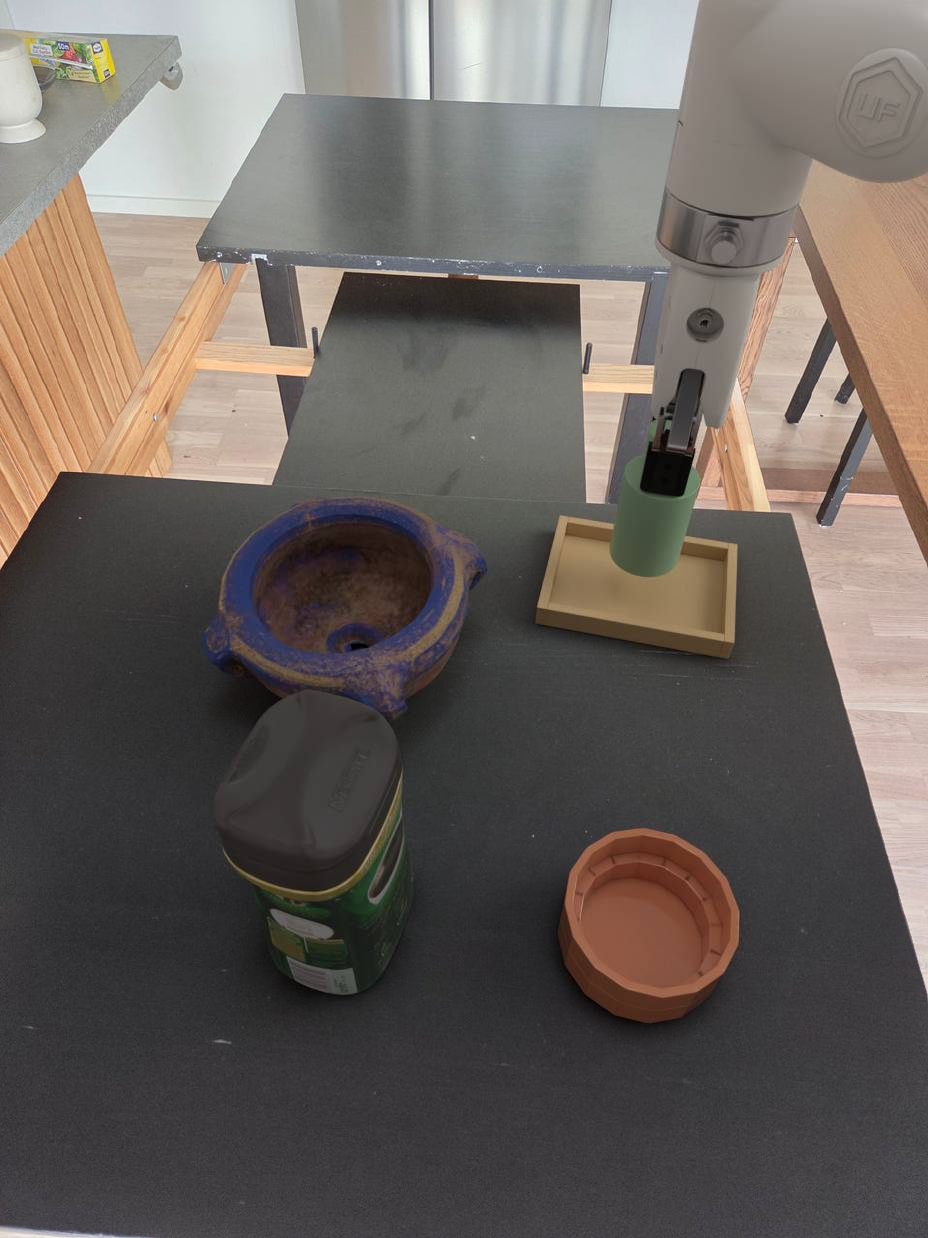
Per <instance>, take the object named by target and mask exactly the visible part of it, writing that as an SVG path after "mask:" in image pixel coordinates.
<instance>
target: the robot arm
mask: <svg viewBox="0 0 928 1238" xmlns="http://www.w3.org/2000/svg"><path fill="white" fill-rule="evenodd" d="M669 155H670V156H669V161H668V167H667V172H666V176H665V182H664V183H665V184H664V188H663V194H662V199H661V204H660V209H659V215H658V220H657V226H656V230H655V237H654V246H655V248H656V250H657V251H658V253H659V254H660V255H661V256H662V258H664V259H666V260H667V261H669V262H670V265H669V270H668V276H667V280H666V281H667V282H666V285H665V290H664V291H665V292H664V297H663V302H662V308H661V312H660V313H661V314H660V319H659V320H660V321H659V326H658V333H657V342H656V349H655V357H654V365H653V366H654V368H653V378H652V390H651V402H650V414H651V417H652V418H651V422H650V424H651V423H652V422H653V421H654V420H656V419H657V420H658V421H657V426H656V431H655V435H654V440H653V442H652V441H649V445H648V449H647V454H646V459H645V463H644V468H643V472H642V477H641V482H640V489H641V490H642V491H645V492H651V493H658V494H664V495H670V496H676V497H681V496H683V495H684V493H685V489H686V486H687V482H688V478H689V474H690V471H691V467H692V466H693V464H694V459H695V455H696V453H697V452H696V451H697V450H696V447H695V446H696V443H697V439H698V435H699V431H700V427H701V423H702V420H703V419H704V424H705V427H707V428H708V427H709V428H713V429H714V430H719V429H721V428H722V427H723V426H724V425H725V424H726V422H727V417H728V414H729V410H730V406H731V402H732V399H733V398H732V396H733V394H734V389H735V386H736V381H737V378H738V373H739V371H740V367H741V362H742V360H743V359H742V358H743V355H744V351H745V347H746V343H747V339H748V335H749V332H750V327H751V323H752V319H753V315H754V310H755V306H756V302H757V297H758V292H759V288H760V282H761V277H762V274H765V273H767V272H770V271H772V270H774V269H775V268H777V267H778V266H779V265H780V264H781V263H782V260H783V259H784V255H785V253H786V248H787V246H788V242H789V239H790V235H791V231H792V229H793V225H794V222H795V219H796V217H797V216H796V215H797V212H798V208H799V205H800V202H801V199H802V197H803V192H804V190H805V187H806V183H807V180H808V177H809V173H810V171H811V166H812V163H813V161H816V162H819V163H821V164H822V165H824V166H826V167H828V168H830V169H832V170H835V171H837V172H839V173H841V174H842V175H846V176H847V177H851V178H854V179H857V180H861V181H863V182H868V183H874V184H875V183H876V184H897V183H903V182H907V181H911V180H914V179H917V178H919V177H922V176H924V175H927V174H928V0H698V5H697V9H696V15H695V19H694V24H693V30H692V35H691V42H690V46H689V51H688V57H687V63H686V67H685V74H684V79H683V85H682V90H681V96H680V100H679V105H678V112H677V116H676V122H675V128H674V133H673V139H672V145H671V149H670V154H669ZM666 420H670V421H672V423H671V428H670V429H665V431H664V428H665V424H666Z"/></svg>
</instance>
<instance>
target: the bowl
mask: <svg viewBox="0 0 928 1238" xmlns="http://www.w3.org/2000/svg"><path fill="white" fill-rule="evenodd" d="M487 572H488V565H487V562H486V559H485V557H484V555H483V554H482V552H481V550H480V548H479V546H478V545H477V543H476V541H475V539H473V538H472V537H470V536H469V535H468V534H465V533H462V532H459V531H456V530H454V529H451V528H449V527H446V526H444V525H441V524H440V523H438V522H437V521H436V520H434V519H432V518H431V517H429V516H427V515H426V514H425V513H423V512H421V511H420V510H419V509H416V508H413V507H411V506H408V505H406V504H404V503H403V504H402V503H400V502H397V501H394V500H392V499H385V498H378V497H369V496H348V497H347V496H346V497H345V496H344V497H317V498H312V499H306V500H304V501H302V502H298V503H294V504H293V505H292V506H291V507H290V508H288V509H286V510H285V511H283V512H281V513H279V514H278V515H276V516H274V517H273V518H272V519H271V520H269V521H268V522H266V523H264V525H262V526H260V527H259V528H258V529H256V530H255V531H252V533H251V534H250V535H249V536H248V537H247V538H246V539H245V541H244V542H242V544H240V546H239V548H238V549H237V550H236V551H235V552H234V553H233V555H232V556H231V559H230V561H229V564H228V565H227V567H226V569H225V571H224V573H223V575H222V578H221V585H220V591H219V595H218V596H219V597H218V602H217V603H218V604H217V612H216V615H215V616H214V618H213V620H212V621H211V623H210V624H209V626H207V628H206V630H205V631H204V633H203V634H202V639H201V647H202V649H203V652H204V654H205V657H206V658H207V659H208V660H209V662H210V663H211V664H212V665H214V666H215V667H216V668H217V669H218V670H219V671H221V672H223V673H225V674H227V675H229V676H231V677H234V678H235V679H242V680H243V679H245V680H251V681H255V682H260V683H261V684H262V685H263V687H265V688H266V689H267V690H268V691H270V692H272V693H273V694H274V695H276V696H277V697H279V698H281V700H282V699H284V698H285V697H287V696H290V695H292V694H295V693H298V692H301V691H302V690H305V689H309V690H316V691H320V692H325V693H330V694H334V695H338V696H342V697H345V698H349V699H352V700H354V701H357V702H360V703H363V704H365V705H368V706H370V707H372V708H374V709H375V710H376V711H378V712H379V713H380V714H381V715H382V716H383V717H384V718H385V719H386V721H387V722H388V723H389V722H393V721H395V720H397V719H399V718H400V717H403V716H404V715H405V714H406V712H407V710H408V706H407V703H406V699H408V698H410V697H411V696H414V694H416V693H417V692H419V691H420V690H422V689H423V688H425V687H426V686H428V685H429V684H430V683H431V682H432V681H433V680H434V679H435V678H436V677H437V676H438V675H440V673H441V672H442V670H443V669H444V667H445V665H447V663H448V662H449V659H450V658H451V656H452V654H453V652H454V650H455V648H456V646H457V643H458V640H459V637H460V633H461V631H462V628H463V626H464V623H465V621H466V618H467V615H468V611H469V595H470V594H469V593H470V592H471V591H472V590H473V589H474V588H475V587H476V586H477V584H478V583H479V582H480V581H481V580H482V578H484V576H485V575H486V573H487ZM355 644H358V645H359V644H364V645H365V646H367V647H366V648H362V649H355V650H352V647H351V645H355Z"/></svg>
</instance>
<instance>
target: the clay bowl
mask: <svg viewBox="0 0 928 1238" xmlns="http://www.w3.org/2000/svg"><path fill="white" fill-rule="evenodd" d="M557 938H558V942H559V947H560V950H561V951H560V952H561V955H562V958H563V963H564V965H565V966H564V967H566V969H567V971H568V972H569V974H570V975H571V976H572V978H573V979H574V981H575V982H576V984H577V985H578V987H579V988H580V990H581V991H582V992H583V994H584V995H585V996H586V997H588V998H589V999H591V1000H592V1001H594V1002H595V1003H597V1004H598V1005H599V1006H600V1007H602V1008H603V1009H605V1010H606V1011H608V1012H609V1013H611V1014H612V1015H614V1016H617V1017H622V1018H625V1019H629V1020H633V1021H636V1022H641V1023H645V1024H652V1023H658V1022H665V1021H669V1020H670V1021H671V1020H676V1019H680V1018H682V1017H684V1016H685V1015H687V1014H688V1013H690V1012H691V1011H692V1010H694V1009H695V1008H697V1007H698V1006H699V1005H701V1004H702V1003H703V1002H705V1001H706V1000H707V999H708V997H709V996H710V995H711V993H712V992H713V990H714V989H715V987H716V986H717V984H718V983H719V981H720V980H721V978H722V977H723V975H724V974H725V972H726V970H727V969H728V966H729V964H730V963H731V960H732V958H733V957H734V954H735V953H736V951H737V948H739V943H740V909H739V907H738V904H737V901H736V898H735V896H734V894H733V890H732V888H731V885H730V883H729V880H728V879H727V877H726V876H725V874H724V873H723V872H722V871H721V870H720V869H719V868H718V866H717V865H716V864H715V863H714V862H713V861H712V859H711V858H710V857H709V856H708V855H707V854H706V853H705V852H704V851H703V850H701V849H699V848H698V847H697V846H695V845H693V844H691V843H689V842H688V841H686V840H685V839H683V838H681V837H680V836H678V835H676V834H673V833H668V832H664V831H659V830H655V829H651V828H645V827H639V828H638V827H637V828H632V829H625V830H618V831H612V832H610V833H608V834H607V835H605V836H603V837H602V838H600V839H598V840H597V841H594V842H593V843H591V844H590V845H588V846H587V847H586V848H585V849H584V850H583V852H582V853H581V855H580V856H579V858H578V859H577V861H576V862H575V864H574V865H573V866H572V868H571V869H570V871H569V873H568V876H567V880H566V885H565V890H564V894H563V899H562V903H561V908H560V914H559V920H558V927H557Z"/></svg>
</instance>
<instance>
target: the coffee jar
mask: <svg viewBox="0 0 928 1238" xmlns="http://www.w3.org/2000/svg"><path fill="white" fill-rule="evenodd" d="M403 767H404V766H403V759H402V754H401V749H400V746H399V742H398V739H397V736H396V734H395V731H394V730H393V727H392V726H391V725H390V723H389V722H387V721H386V719H385V718H384V717H383V716H382V715H381V714H380V713H379V712H378V711H376V710H375V709H374V708H372V707H370V706H368V705H365V704H363V703H360V702H357V701H354V700H352V699H349V698H345V697H342V696H338V695H334V694H330V693H325V692H320V691H316V690H309V689H305V690H302V691H301V692H298V693H295V694H292V695H290V696H287V697H285V698H284V699H282V698H281V700H279V701H276V703H274V704H273V705H272V706H270V707H269V708H268V709H267V710H266V711H265V712H264V713H263V714H262V715H261V716H260V717H259V719H258V720H257V722H256V723H255V725H254V726H253V727H252V729H251V731H249V734H248V735H247V737H246V738H245V740H244V741H243V742H242V744H241V746H240V748H239V749H238V751H237V752H236V754H235V756H234V758H233V760H232V761H231V763H230V765H229V767H228V768H227V770H226V773H225V775H224V776H223V778H222V780H221V782H220V783H219V786H218V788H217V790H216V792H215V797H214V800H213V809H212V810H213V819H214V824H215V828H216V830H217V832H218V835H219V839H220V843H221V846H222V851H223V854H224V856H225V857H226V859H227V861H228V862H229V863H230V865H231V866H232V867H233V868H234V870H235V871H236V872H237V873H239V875H240V876H242V877H243V878H245V879H246V880H247V881H249V882H250V884H251V887H252V888H253V893H254V896H255V899H256V904H257V907H258V913H259V917H260V921H261V925H262V929H263V930H262V931H263V933H264V936H265V940H266V945H267V948H268V951H269V953H270V956H271V958H272V961H273V963H274V964H275V966H276V967H277V968H278V970H279V971H280V972H281V973H282V974H284V975H285V976H286V977H288V978H290V979H291V980H293V981H294V982H297V983H299V984H301V985H302V986H305V987H308V988H309V989H312V990H316V991H319V992H323V993H326V994H332V995H339V996H349V995H354V994H358V993H361V992H363V991H365V990H366V989H368V988H370V987H371V986H372V985H374V984H375V983H376V982H377V981H378V980H379V979H380V977H381V976H382V975H383V973H384V972H385V970H386V968H387V966H388V965H389V963H390V961H391V959H392V956H393V955H394V953H395V950H396V949H397V946H398V943H399V942H400V939H401V936H402V934H403V931H404V929H405V926H406V923H407V921H408V917H409V914H410V911H411V908H412V907H411V906H412V903H413V899H414V894H415V889H416V887H415V886H416V881H415V872H414V866H413V862H412V857H411V853H410V851H409V846H408V840H407V835H406V830H405V825H404V824H405V823H404V819H403V818H404V817H403V807H402V806H403V805H402V803H403V802H402V801H403V798H402V797H403V779H404V778H403V775H404V773H403V771H404V770H403Z"/></svg>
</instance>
